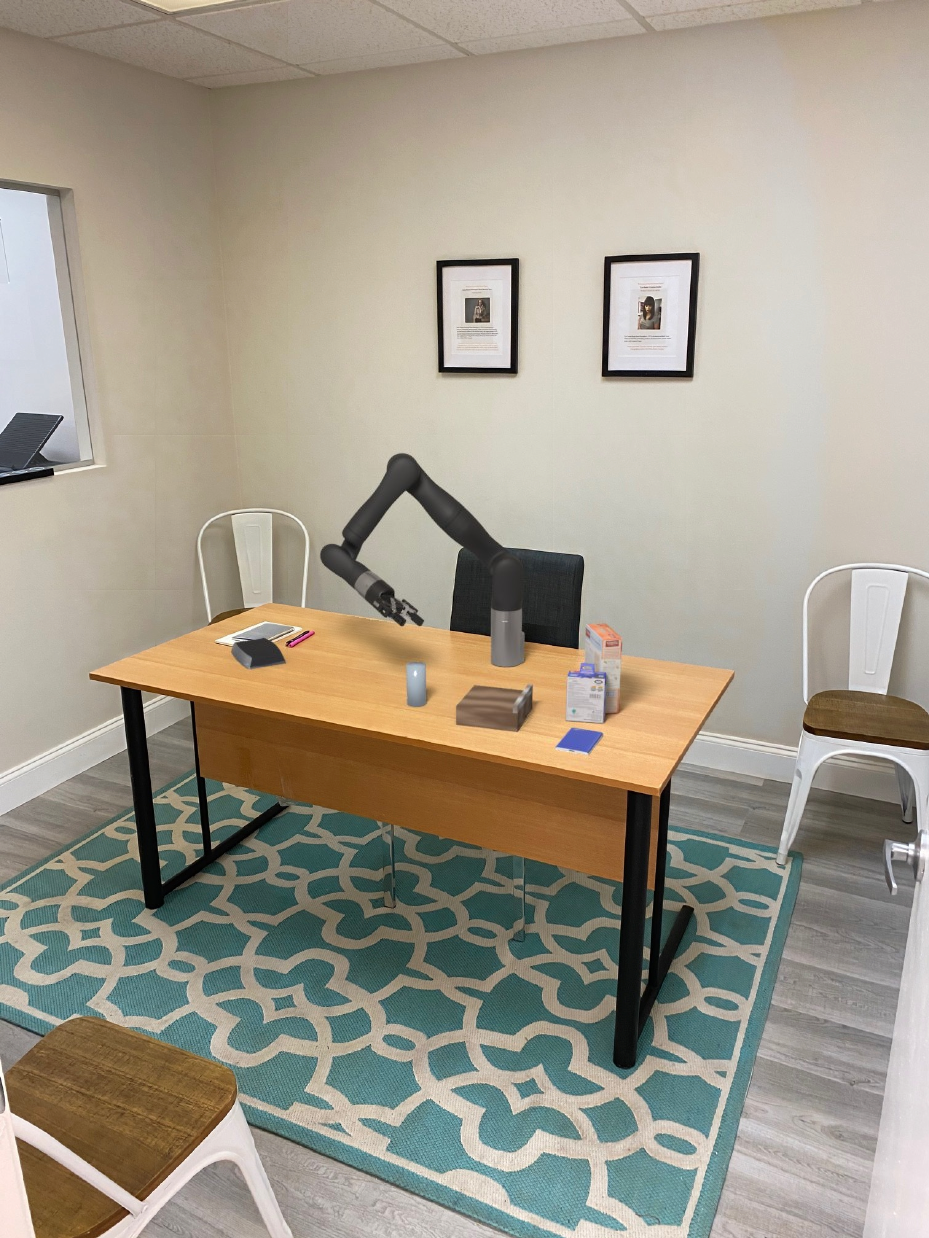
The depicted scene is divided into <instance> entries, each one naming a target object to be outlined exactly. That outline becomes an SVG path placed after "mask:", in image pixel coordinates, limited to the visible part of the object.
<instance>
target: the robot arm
mask: <svg viewBox="0 0 929 1238" xmlns="http://www.w3.org/2000/svg"><path fill="white" fill-rule="evenodd" d="M405 492H407V493H408V494H409V495H411V497H413V498H414V499H415V500H416V501H417V502H418V503H419V504H420V505H421V507H422V508H423V509H424V510H425V512H426V513H427V515H428V516H429V517H430V518H431V520H432V521H433V522H434V523H435V524H436V525H437V526H438V527H439V528H440V529H441V530H442V531H443V532H444V533H445V534H446V535H447V536H448V537H449V538H450V539H452V540H453V541H454V542H455V543H457V544H458V545H459V546H461V547H463V548H464V549H466V550H468V551H469V552H470V553H471V554H473V555H474V556H475V557H476V558H478V560H479V561H480V562H481V563H482V564H483V566H485V568H486V569H487V570H488V572H489V573H490V574H491V576H492V581H491V583H492V586H491V587H492V590H491V591H492V593H491V599H490V602H491V603H490V663H491V664H492V665H494V666H498V667H504V668H505V667H507V668H508V667H509V668H510V667H516V666H519V665H521V664H522V663H525V632H524V631H522V629H523V626H522V625H523V601H524V590H525V589H524V587H525V584H524V583H525V570H524V567H523V563H521V561H520V559H519V558H518V557H517V556H516V555H515V554H513V553H512V552H511V551H509V550H508V549H507V548H505V547H504V546H503V545H501V544H500V543H499V542H498V541H497V540H496V539H495V538H493V536H491V535H490V534H489V532H488V531H487V530H486V529H485V527H484V526H483V525H482V524H481V522H480V521H479V520H478V519H477V518H476V517H475V516H474V515H473V514H472V513H471V512H470V511H469V510H468V509H467V508H466V507H465V505H463V504H462V502H460V501H459V500H458V499H456V498H455V497H454V496H453V495H452V494H450V493H449V492H448V491H446V490H445V489H444V488H442V487H441V486H440V485H439V484H437V483H436V482H435V481H434V479H432V478H431V477H430V476H429V475H428V474H427V473H426V471H425V470H424V469H423V468H422V466H421V465H420V464H419V463H418V461H417V460H416V459H415V457H414V456H412V455H410V454H409V453H404V452H401V453H400V452H399V453H395V454H394V455H392V456H391V457H390V458H389V459H388V461H387V465H386V472H385V474H384V476H383V478H382V479H381V481H380V483H379V484H378V486H377V487H376V489H375V490H374V492H372V494H371V495H370V496H369V497H368V499H366V501H365V502H364V503H363V504H362V505H361V506H360V507H359V508H358V509H357V511H356V512H355V513H354V514H353V515H352V516H351V518H350V519H349V521H348V522H347V523H346V525H345V526H344V527H343V529H342V531H341V536H342V537H343V538H344V539H343V541H342V544H341V545H339V544H337V543H328V544H325V545H324V546H323V547H322V548H321V550H320V555H319V558H320V561H321V564H322V565H323V566H324V567H326V568H327V569H328V570H329V571H331V572H332V573H333V574H334V575H337V576H338V577H340V578H341V579H342V580H344V581H345V582H346V584H348V585H349V586H350V587H351V588H352V589H353V590H355V592H356V593H358V595H359V596H360V597H361V598H363V599H364V601H366V602H367V603H369V605H371V607H373V608H374V609H375V611H377V612H378V613H379V614H380V615H381V616H382V617H383V618H385V619H387V618H388V619H390V620H393V621H394V622H395V623H396V624H398V625H399V626H400V627H404V626H405V624H406V623H407V619H406V618H408V619H409V620H410V621H412V622H413V623H415V624H416V626H418V627H422V626H423V624H424V623H425V619H424V618H422V617H421V616H420V615H419V614H418V612H419V610H418V609H417V608H416V607H415V606H414V605H412V604H411V603H410V602H408V601H407V600H406V599H405V598H402V600H401V599H399V598H397V597H396V596H395V594H396V593H395V592H396V591H395V589H394V588H393V587H392V586H391V585H390V584H388V582H386V581H385V579H383V578H381V576H379V575H378V574H377V573H375V572H373V571H372V570H371V569H369V568H368V567H367V566H366V565H365V564H363V563H361V562H359V561H358V560H357V558H358V556H359V554H360V552H361V549H362V547H363V545H364V543H365V542H366V541H367V539H368V538H369V536H370V535H371V534H372V533H373V532H374V530H375V529H376V527H377V526H378V525H379V523H380V522H381V520H383V517H384V516H385V515H386V513H387V511H389V510H390V508H391V506H393V504H394V503H395V502H396V501H397V500H398V499H399V498H400V497H401V496H402V495H403V494H404V493H405ZM405 617H406V618H405Z"/></svg>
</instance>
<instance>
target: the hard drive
mask: <svg viewBox="0 0 929 1238" xmlns="http://www.w3.org/2000/svg"><path fill="white" fill-rule="evenodd" d="M603 737H604V733H603V732H601V731H596V730H591V729H585V728H580V727H570V729H569V730H568V731H567V732H566V734H564V735H563V737H562V738H561V739H560V741H559V742H558V743H557V744H556V746H555V747H554V750H555V751H559V750H560V752H567V753H571V752H572V754H577V753H581V754H580V755H582V754H585V755H584V756H589V755H590V754H591V753H592V751H593V750H594V749H595V748H596V747H597V744H598V743H599V742H600V741H601V739H602V738H603ZM599 740H600V741H599ZM593 748H594V749H593ZM590 752H591V753H590ZM589 753H590V754H589Z"/></svg>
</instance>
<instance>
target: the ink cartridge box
mask: <svg viewBox="0 0 929 1238" xmlns="http://www.w3.org/2000/svg"><path fill="white" fill-rule="evenodd" d="M584 666H589V667H592V669H591V670H590V669H584ZM565 702H566V703H565V721H566V722H567V721H569V722H582V723H583V722H585V723H597V724H604V721H605V720H606V719H605V718H606V714H605V706H606V672H595V664H588V663H585V662H581V663H580V667H579V670H569V671H568V673H567V676H566V700H565Z"/></svg>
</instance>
